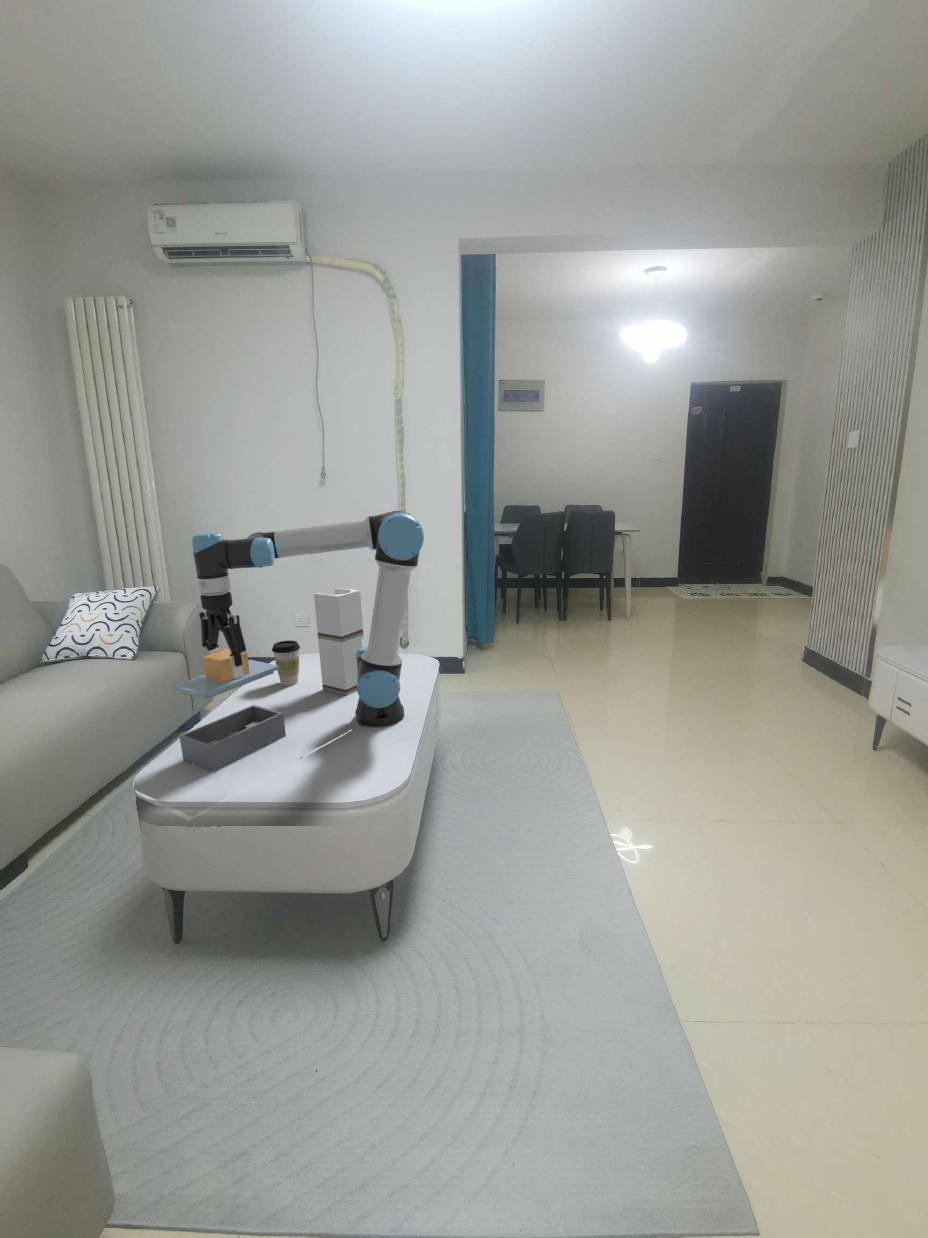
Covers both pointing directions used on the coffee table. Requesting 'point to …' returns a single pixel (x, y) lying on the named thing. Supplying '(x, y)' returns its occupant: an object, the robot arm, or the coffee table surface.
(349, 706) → the coffee table surface
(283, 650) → the coffee cup
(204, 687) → the lid
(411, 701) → the coffee table surface
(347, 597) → the tall white vase
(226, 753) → the tub
